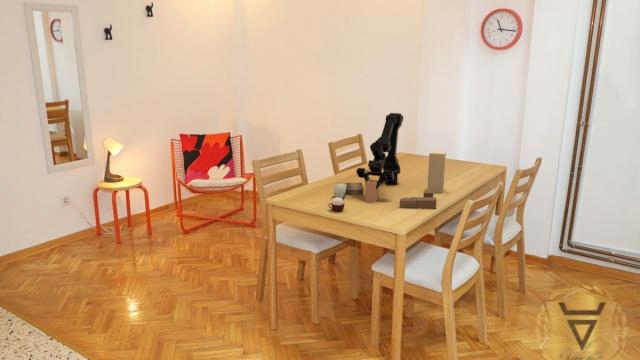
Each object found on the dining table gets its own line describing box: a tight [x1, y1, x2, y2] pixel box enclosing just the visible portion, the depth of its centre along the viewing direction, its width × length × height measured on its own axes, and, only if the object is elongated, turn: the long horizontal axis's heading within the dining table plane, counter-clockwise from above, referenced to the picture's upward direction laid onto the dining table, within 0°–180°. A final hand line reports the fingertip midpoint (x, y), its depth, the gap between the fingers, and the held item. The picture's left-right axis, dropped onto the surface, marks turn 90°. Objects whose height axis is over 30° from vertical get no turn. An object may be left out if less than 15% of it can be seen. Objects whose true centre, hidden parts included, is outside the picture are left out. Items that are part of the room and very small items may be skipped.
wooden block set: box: [399, 189, 437, 210], centre depth 258 cm, size 17×6×18 cm
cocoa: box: [328, 186, 349, 213], centre depth 248 cm, size 10×6×12 cm, turn 59°
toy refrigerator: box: [426, 150, 447, 194], centre depth 277 cm, size 8×7×21 cm
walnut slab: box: [344, 182, 364, 196], centre depth 280 cm, size 14×14×3 cm
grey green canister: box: [333, 182, 347, 200], centre depth 269 cm, size 6×6×7 cm
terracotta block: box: [365, 179, 380, 203], centre depth 263 cm, size 5×5×10 cm
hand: (371, 188), depth 261 cm, fingers closed on terracotta block, 5 cm apart
